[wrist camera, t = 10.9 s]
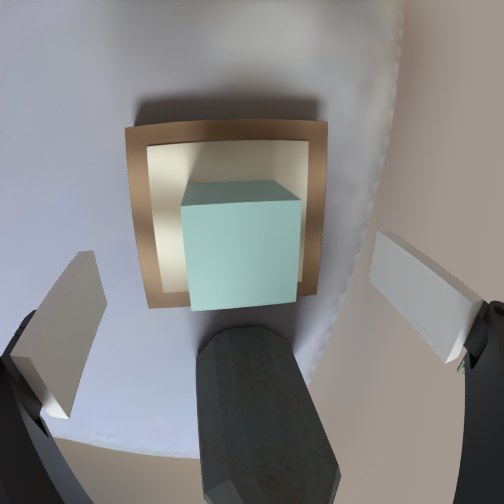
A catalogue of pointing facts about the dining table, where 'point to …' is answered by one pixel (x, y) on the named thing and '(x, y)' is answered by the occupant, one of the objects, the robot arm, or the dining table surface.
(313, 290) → the picture frame
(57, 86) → the dining table surface
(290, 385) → the bottle
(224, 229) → the cube
